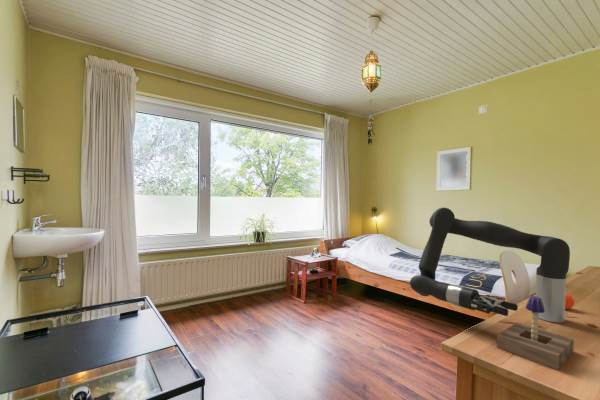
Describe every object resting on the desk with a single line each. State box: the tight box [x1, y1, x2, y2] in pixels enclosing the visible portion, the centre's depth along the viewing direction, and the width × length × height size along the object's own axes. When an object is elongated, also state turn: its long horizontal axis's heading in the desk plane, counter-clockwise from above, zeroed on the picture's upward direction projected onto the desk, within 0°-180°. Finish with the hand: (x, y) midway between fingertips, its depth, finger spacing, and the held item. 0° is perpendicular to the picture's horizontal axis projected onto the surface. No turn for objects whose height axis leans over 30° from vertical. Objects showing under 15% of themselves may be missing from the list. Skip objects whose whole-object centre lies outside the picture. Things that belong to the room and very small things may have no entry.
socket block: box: [496, 322, 575, 370], centre depth 93 cm, size 18×15×4 cm
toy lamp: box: [525, 295, 545, 342], centre depth 93 cm, size 5×5×17 cm
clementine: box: [565, 293, 575, 310], centre depth 134 cm, size 8×7×7 cm
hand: (512, 310), depth 98 cm, fingers open, 8 cm apart
